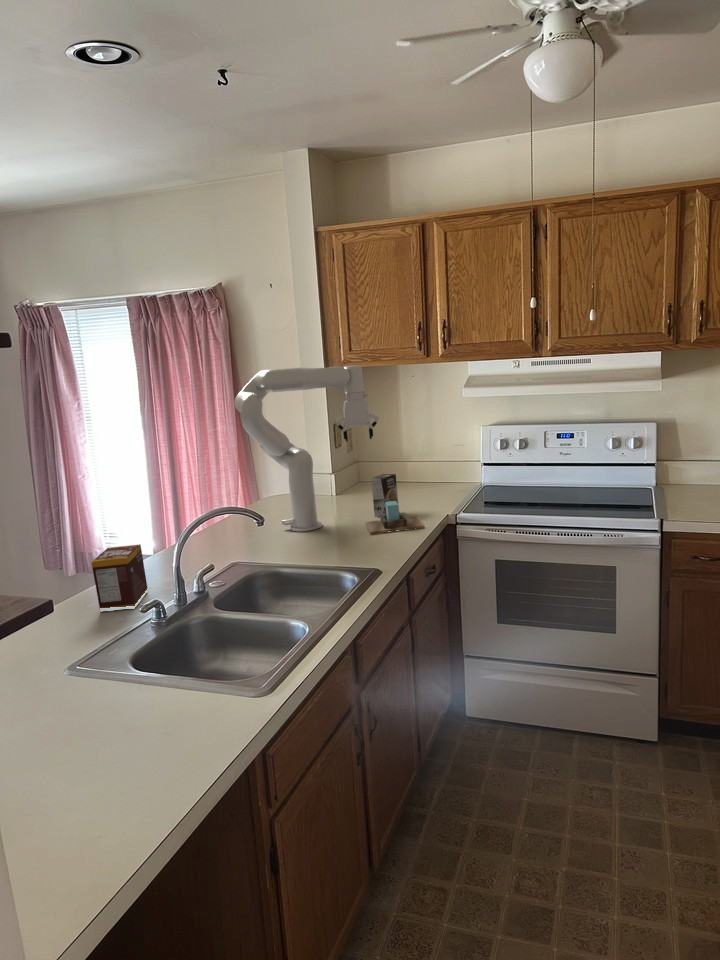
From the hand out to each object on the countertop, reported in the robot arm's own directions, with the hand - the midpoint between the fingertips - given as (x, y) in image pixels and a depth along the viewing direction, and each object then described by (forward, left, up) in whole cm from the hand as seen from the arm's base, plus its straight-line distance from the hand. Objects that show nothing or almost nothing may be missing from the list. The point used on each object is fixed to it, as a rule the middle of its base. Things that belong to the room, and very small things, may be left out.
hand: (358, 439), depth 288 cm
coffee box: (+8, -2, -32) cm, 33 cm away
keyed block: (+8, -22, -30) cm, 38 cm away
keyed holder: (+8, -22, -31) cm, 39 cm away
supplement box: (-81, -73, -32) cm, 113 cm away
